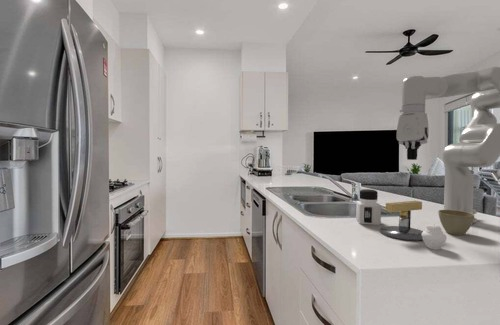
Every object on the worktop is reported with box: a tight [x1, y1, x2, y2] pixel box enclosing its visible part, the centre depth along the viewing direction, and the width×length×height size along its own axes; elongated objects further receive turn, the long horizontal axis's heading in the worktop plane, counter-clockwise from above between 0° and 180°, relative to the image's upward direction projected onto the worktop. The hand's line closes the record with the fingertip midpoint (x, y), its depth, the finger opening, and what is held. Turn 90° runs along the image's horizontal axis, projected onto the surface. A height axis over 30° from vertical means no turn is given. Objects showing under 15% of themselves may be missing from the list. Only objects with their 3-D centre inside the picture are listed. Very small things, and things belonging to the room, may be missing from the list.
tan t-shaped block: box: [385, 200, 423, 219], centre depth 93 cm, size 2×14×5 cm, turn 112°
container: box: [355, 188, 382, 226], centre depth 110 cm, size 8×8×13 cm
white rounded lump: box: [422, 224, 447, 251], centre depth 80 cm, size 6×6×7 cm
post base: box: [380, 210, 424, 242], centre depth 93 cm, size 14×14×10 cm
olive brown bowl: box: [437, 209, 475, 236], centre depth 95 cm, size 10×10×7 cm
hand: (411, 159), depth 104 cm, fingers closed
